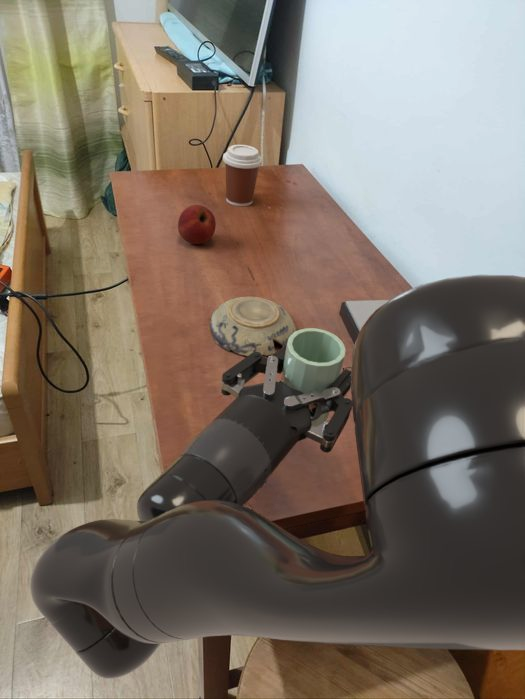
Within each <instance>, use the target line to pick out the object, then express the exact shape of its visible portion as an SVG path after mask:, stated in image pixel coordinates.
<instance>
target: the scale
mask: <svg viewBox="0 0 525 699" xmlns="http://www.w3.org/2000/svg"><path fill="white" fill-rule="evenodd" d="M389 300H390V299H370V300H368V299H367V300H346V301H342V302H341V303H340V308H339V312H338V313H339V315H340V317H341V319H342V322H343V323H344V326H345V327H346V330H347V332H348V334H349V336H350V338H351V341H352V343H353V346H354V345H355V342H356V340H357V337H358V335H359V333H360V330H361V328H362V327H363V325H364V324H365V322H366V321H367V320H368V318H369V317H370V316H371V315H372V314H373V313H374V312H375V311H376V310H377V309H378V308H380V307H381V306H382V305H384V304H385V303H387V302H388V301H389Z"/></svg>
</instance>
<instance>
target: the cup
mask: <svg viewBox="0 0 525 699" xmlns="http://www.w3.org/2000/svg"><path fill="white" fill-rule="evenodd" d="M345 358H346V346H345V344H344V342H343V341H342V340H341V339H340V337H338V336H337V335H335V334H334V333H332V332H330V331H328V330H325V329H321V328H316V327H307V328H306V327H304V328H301V329H299V330H296V331H295V332H294V333H293V334H292V335H291V336H290V337H289V339H288V342H287V347H286V353H285V359H284V365H283V371H282V373H281V377H280V381H282V382H284V383H286V384H287V385H288V386H289V387H291V388H293V389H296V390H299V391H301V392H303V393H307V392H310V391H313V390H318V391H323V390H326V389H328V388H331V385H332V384H333V382H334V381H335V380H336V379H337V378H338V377H339V375H340V374H341V373H342V368H343V364H344V361H345ZM329 415H330V412H328V413H325V414H322V415H321V416H320V417H319V418H318V419H316V420H314V421H311V422H312V426H319V425H320V424H321V423H324V421H328V419H329Z"/></svg>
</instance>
